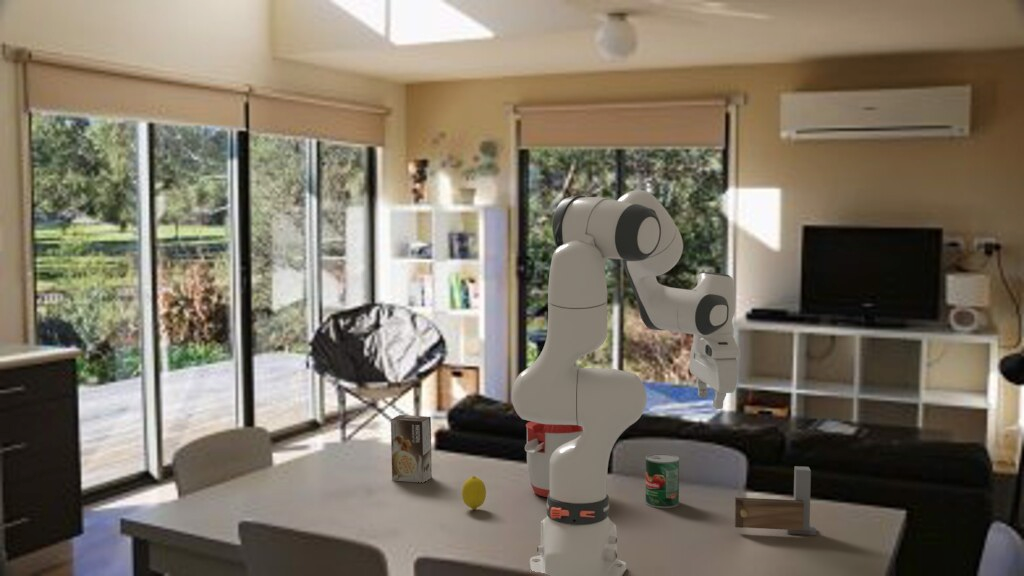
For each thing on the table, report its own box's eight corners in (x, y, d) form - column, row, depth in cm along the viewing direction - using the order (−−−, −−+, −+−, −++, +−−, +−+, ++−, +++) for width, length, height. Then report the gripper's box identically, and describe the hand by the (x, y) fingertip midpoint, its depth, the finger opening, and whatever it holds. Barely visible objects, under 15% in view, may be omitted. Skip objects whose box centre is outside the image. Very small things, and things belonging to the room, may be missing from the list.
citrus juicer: (507, 493, 237) (507, 412, 235) (557, 480, 248) (558, 403, 246) (551, 507, 225) (551, 423, 223) (602, 493, 236) (603, 413, 235)
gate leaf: (804, 533, 202) (804, 505, 202) (735, 529, 205) (736, 502, 204) (801, 528, 206) (802, 500, 205) (734, 524, 208) (735, 497, 208)
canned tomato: (683, 501, 230) (684, 456, 229) (671, 510, 223) (672, 463, 222) (652, 496, 234) (653, 451, 233) (639, 504, 227) (640, 459, 226)
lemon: (482, 514, 220) (482, 479, 219) (459, 512, 221) (459, 478, 221) (488, 507, 226) (488, 473, 225) (465, 505, 227) (465, 472, 226)
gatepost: (816, 535, 206) (818, 470, 205) (787, 533, 207) (789, 469, 205) (813, 529, 210) (815, 465, 208) (785, 527, 211) (786, 464, 209)
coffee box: (433, 477, 251) (432, 416, 250) (423, 483, 245) (423, 421, 244) (400, 474, 254) (399, 414, 252) (390, 480, 248) (389, 419, 246)
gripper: (684, 334, 227) (681, 391, 229) (716, 352, 207) (713, 415, 209) (709, 333, 228) (706, 390, 230) (744, 352, 208) (740, 414, 210)
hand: (710, 402), depth 220 cm, fingers open, 8 cm apart
